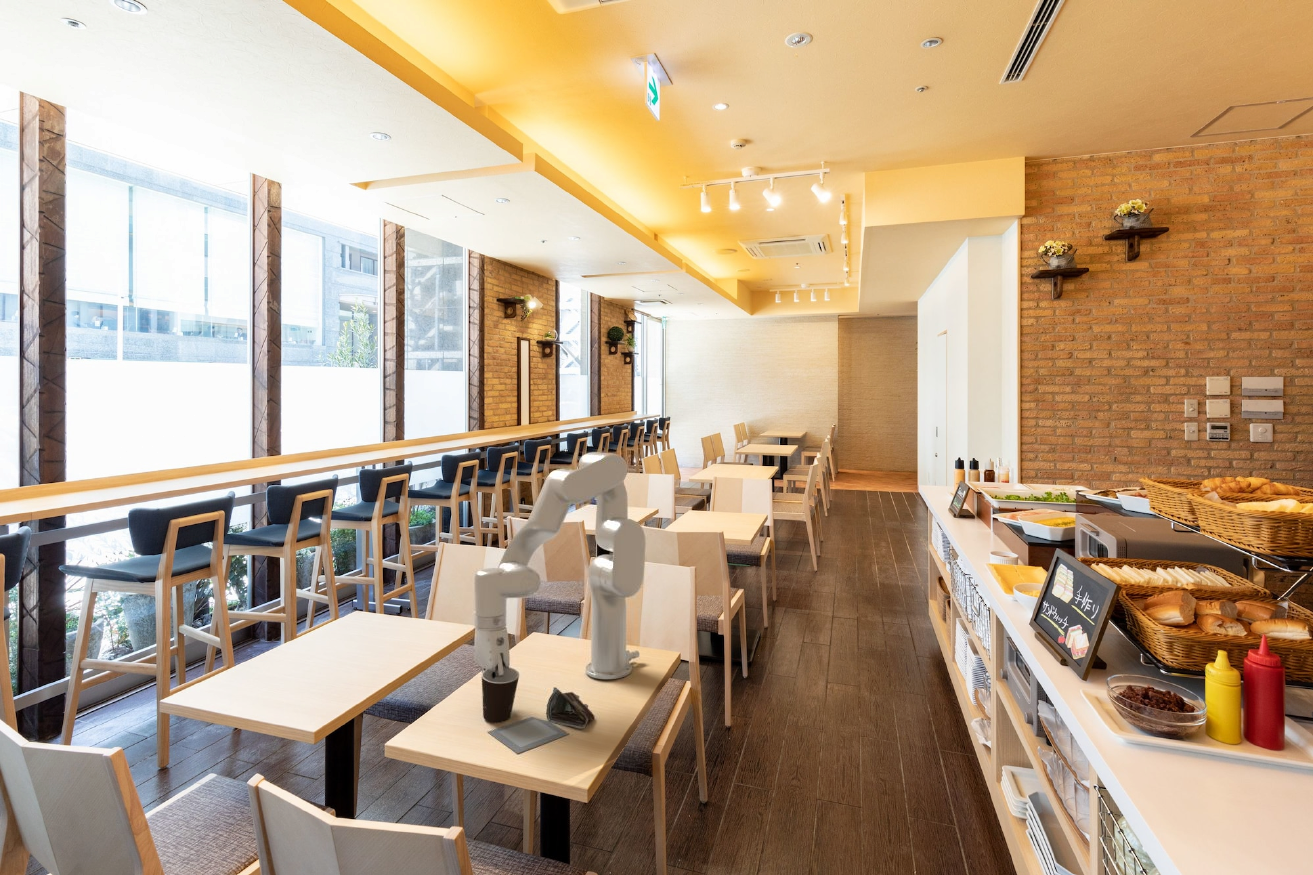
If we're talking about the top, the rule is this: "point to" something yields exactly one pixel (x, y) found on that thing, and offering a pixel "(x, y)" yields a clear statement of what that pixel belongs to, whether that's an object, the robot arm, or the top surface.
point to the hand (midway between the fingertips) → (490, 695)
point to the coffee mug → (499, 694)
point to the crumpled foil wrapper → (567, 702)
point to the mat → (527, 734)
